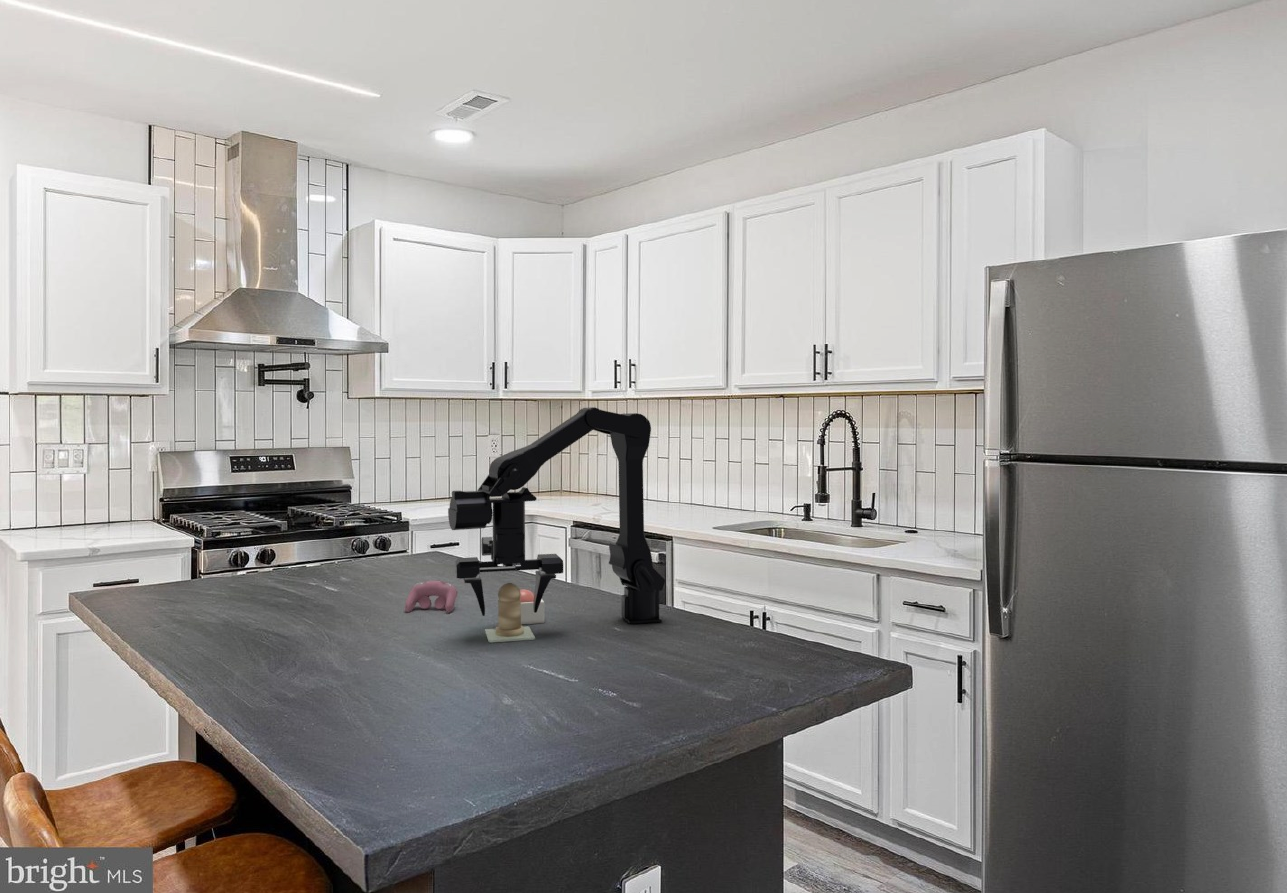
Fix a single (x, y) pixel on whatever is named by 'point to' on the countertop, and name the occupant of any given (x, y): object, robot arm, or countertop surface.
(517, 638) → the pad
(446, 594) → the video game controller
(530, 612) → the housing
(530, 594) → the pink rounded piece
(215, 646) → the countertop surface
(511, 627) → the pawn
